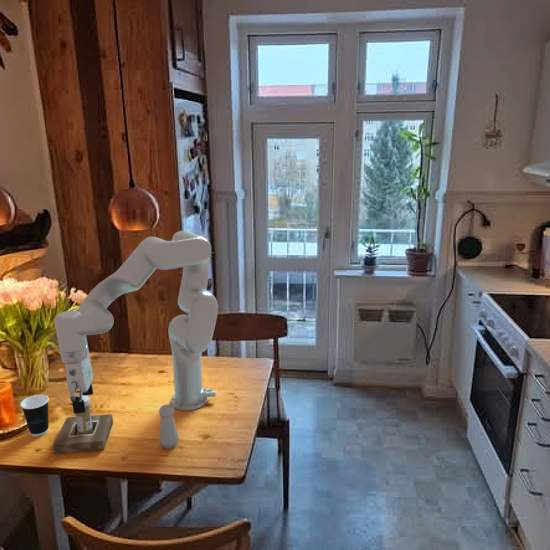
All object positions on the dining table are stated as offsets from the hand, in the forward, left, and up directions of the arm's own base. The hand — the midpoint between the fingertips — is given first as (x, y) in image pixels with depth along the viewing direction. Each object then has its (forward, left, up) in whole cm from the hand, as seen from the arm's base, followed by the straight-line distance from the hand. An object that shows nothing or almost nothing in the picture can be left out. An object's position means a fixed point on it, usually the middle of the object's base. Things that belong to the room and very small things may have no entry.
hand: (84, 403), depth 144 cm
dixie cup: (+16, -5, -12) cm, 20 cm away
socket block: (+1, 0, -12) cm, 12 cm away
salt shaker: (-25, +7, -12) cm, 29 cm away
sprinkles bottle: (+1, 0, -12) cm, 12 cm away
